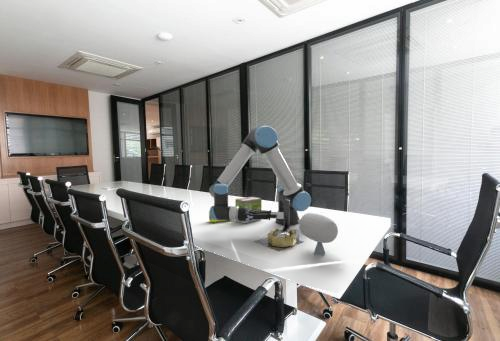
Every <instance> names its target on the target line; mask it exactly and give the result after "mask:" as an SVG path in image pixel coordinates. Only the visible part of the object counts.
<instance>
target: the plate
mask: <svg viewBox="0 0 500 341" xmlns="http://www.w3.org/2000/svg"><path fill="white" fill-rule="evenodd" d="M293 231H294V233H295V234H296V243H295V244H294V245H293V246H288V247H278V246H272V245H271V244H270V243H268V236H267V237H263V238H261V239H257V240H254V241H253V242H255V243H257V244H259V245H262V246H265V247H266V248H269V249H271V250H274V251H277V252H281V251H283V250H286V249H289V248H292V247H294V246H297V245H301V244H303V243H304V241H303V240H301V239H300V230H299V229H293ZM285 235H290V233H289V232H286V231H277V232H275V233H274V236H275V237H285Z"/></svg>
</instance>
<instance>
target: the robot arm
mask: <svg viewBox="0 0 500 341" xmlns="http://www.w3.org/2000/svg"><path fill="white" fill-rule="evenodd" d="M278 138H279V137H278V133H277V130H276V129H274V128H273V127H271V126H269V125H261V126H259V127H255V128H254V129H252V130H251V131H250V132H249V133H248V134H247V136H246V137H245V138H244V140H243V141H242V143H241V147H240V149H239V150H237V153H236V154H235V155H234V156H233V158H232V159H231V161H230V162H229V164H228V165H227V166H226V168H224V170H222V171H223V172H222V173H221V174H220V175H219V177H218V178H217V179H216V181H215V182H214V183H213V184H212V185H211V186H210V187H209V188H208V189H209V194H210V196H211V197H213V205H212V206H210V208H209V211H210V218H211V219H213V220H229V221H230V222H231V221H232V222H233V223H234V222H238V220H239V221H246V220H247V218H249V220H253V219H261V220H267V221H271V219H273V220H275V223H276V224H280V225H284V200H285V199H288V200H290V226H292V225H297V224H298V225H299V223H298V220H300V217H299V213H298V212H304V211H306V210H308V208H310V207H311V206H310V205H311V203H312V197H311V195H310V193H308V192H307V191H305V189H304V188H303V186H302V185H301V183H298V182H297V181H296V179H295V177H294V175H293V173H292V171H291V170H290V167H289V166H288V163H287V162H286V160H285V158H284V156H283V154H282V152H281V150H280V149H279V146H280V143H279V141H278ZM257 151H258V152H259V154H260V155H262V156H264V157H265V159H266V160H267V162H268V164H269V165H270V167H271V169H272V171H273V173H274V175H275V177H276V178H277V180H278V182H279V184H280V185H281V186H280V187H278V190H277V194H278V196H277V200H278V201H277V204H278V210H277V211H272V210H271V209H269V210H263V209H261V210H255V209H254V210H250V211H247V208H246V207H238V206H235V205H234V206H232V205H231V206H230V205H229V186H230V185H231V183H233V181H234V179H235V178H236V177H237V176H238V174H239V173H240V171H241V169H242V168H243V167H244V166H245V164H246V163H247V162H248V161H249V159H250V157H251V156H252V155H255V154H256V152H257Z"/></svg>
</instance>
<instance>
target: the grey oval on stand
mask: <svg viewBox="0 0 500 341" xmlns="http://www.w3.org/2000/svg"><path fill="white" fill-rule="evenodd" d="M298 228H299V229H298V230H299V233H301V235H303V236H304V237H306V238H308V239H310V240H312V241H314V242H316V245H315V248H314V251H313V254H314V255H317V256H325V255H326V251H325V247H324V245H323V244H327V243H332V242H333V241H335V240H336V238H337V236H338V233H339V229H338V225H337V223H335V221H334V220H332V218H329V217H327V216H325V215H322V214H319V213H315V212H314V213H313V212H311V213H310V212H307V213H305V214H303V215H302V216H301V218H299V220H298Z"/></svg>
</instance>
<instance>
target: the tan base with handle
mask: <svg viewBox="0 0 500 341" xmlns="http://www.w3.org/2000/svg"><path fill="white" fill-rule="evenodd" d="M277 231H286V232H289V233H290V235H285V237H275V236H274V233H275V232H277ZM267 237H268V243H270V244H271V245H272V246H278V247H288V246H292V247H294V246H293V245H294V244H295V243H296V234H295V233H294V229H291V225H290V200H288V199H285V200H284V224H283V228H282V229H280V228H278V227H277V228H274V230H271V231H269V232H268V233H267Z"/></svg>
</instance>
